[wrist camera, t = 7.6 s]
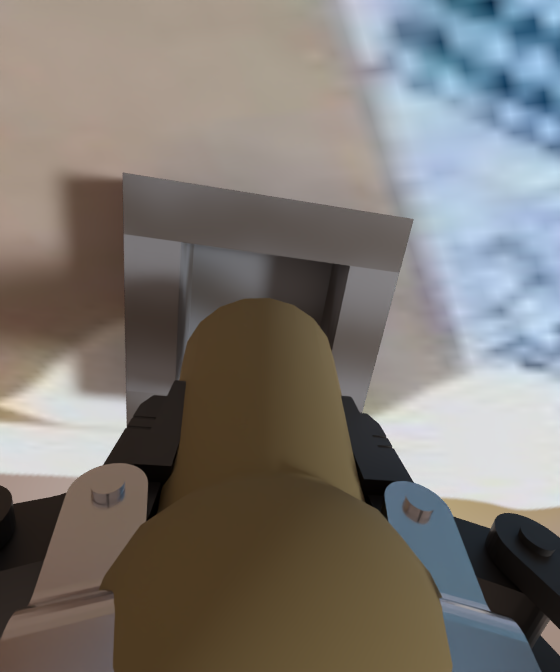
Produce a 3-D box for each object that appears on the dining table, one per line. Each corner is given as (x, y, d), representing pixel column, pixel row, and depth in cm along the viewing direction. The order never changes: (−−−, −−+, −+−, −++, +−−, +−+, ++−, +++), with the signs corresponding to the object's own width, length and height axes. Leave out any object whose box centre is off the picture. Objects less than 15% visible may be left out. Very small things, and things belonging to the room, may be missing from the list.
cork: (356, 396, 14) (645, 911, 4) (232, 455, 15) (174, 1044, 4) (292, 268, 12) (534, 613, 2) (150, 343, 12) (-343, 949, 2)
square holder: (150, 181, 18) (122, 172, 14) (382, 217, 19) (413, 219, 15) (148, 393, 22) (126, 430, 18) (337, 409, 23) (352, 447, 20)
